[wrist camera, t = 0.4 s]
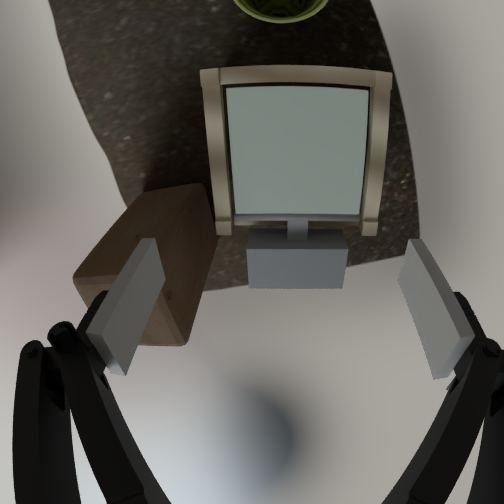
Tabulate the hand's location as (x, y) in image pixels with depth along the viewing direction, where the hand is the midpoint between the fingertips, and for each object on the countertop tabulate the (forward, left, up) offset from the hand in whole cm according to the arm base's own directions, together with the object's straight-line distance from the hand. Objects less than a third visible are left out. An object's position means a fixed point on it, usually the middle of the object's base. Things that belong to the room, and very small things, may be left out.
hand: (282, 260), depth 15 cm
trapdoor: (+2, +2, -16) cm, 17 cm away
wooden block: (+11, -14, -26) cm, 31 cm away
